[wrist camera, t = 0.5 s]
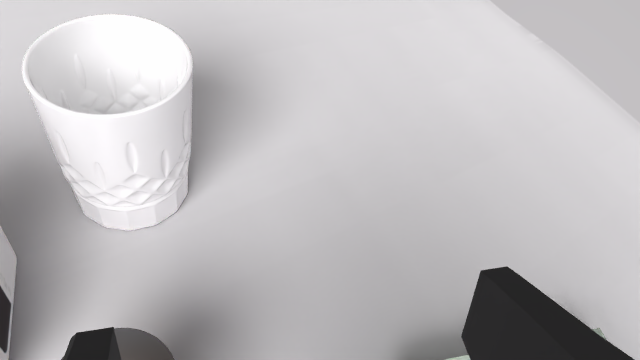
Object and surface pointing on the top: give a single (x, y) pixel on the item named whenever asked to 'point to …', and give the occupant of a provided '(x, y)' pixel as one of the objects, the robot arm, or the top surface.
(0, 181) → the top surface
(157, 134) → the white cup
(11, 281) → the container
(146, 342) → the cylinder
